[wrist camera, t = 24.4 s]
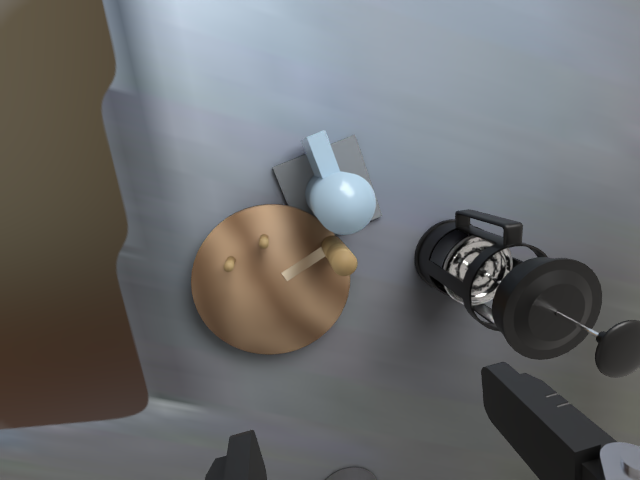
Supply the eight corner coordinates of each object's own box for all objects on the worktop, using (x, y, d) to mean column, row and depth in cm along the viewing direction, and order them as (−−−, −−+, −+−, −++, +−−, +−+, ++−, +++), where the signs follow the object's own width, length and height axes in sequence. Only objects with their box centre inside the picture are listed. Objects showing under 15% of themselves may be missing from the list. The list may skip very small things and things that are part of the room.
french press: (481, 288, 46) (678, 409, 24) (415, 297, 45) (557, 434, 23) (484, 202, 43) (711, 249, 21) (413, 210, 42) (575, 269, 20)
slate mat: (380, 214, 41) (382, 215, 41) (305, 246, 41) (305, 247, 40) (353, 135, 39) (355, 134, 38) (272, 167, 38) (272, 167, 38)
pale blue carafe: (359, 206, 40) (383, 220, 31) (315, 225, 40) (328, 244, 31) (330, 128, 38) (349, 119, 29) (284, 147, 37) (288, 144, 29)
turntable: (295, 171, 38) (303, 175, 29) (374, 294, 43) (399, 326, 34) (160, 262, 38) (130, 290, 30) (254, 373, 43) (251, 424, 35)
